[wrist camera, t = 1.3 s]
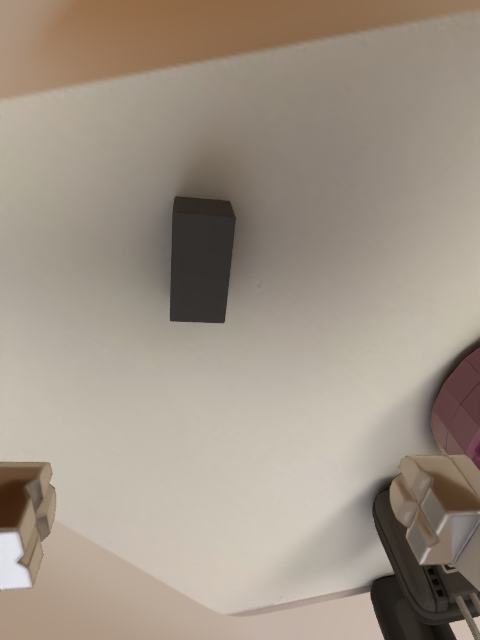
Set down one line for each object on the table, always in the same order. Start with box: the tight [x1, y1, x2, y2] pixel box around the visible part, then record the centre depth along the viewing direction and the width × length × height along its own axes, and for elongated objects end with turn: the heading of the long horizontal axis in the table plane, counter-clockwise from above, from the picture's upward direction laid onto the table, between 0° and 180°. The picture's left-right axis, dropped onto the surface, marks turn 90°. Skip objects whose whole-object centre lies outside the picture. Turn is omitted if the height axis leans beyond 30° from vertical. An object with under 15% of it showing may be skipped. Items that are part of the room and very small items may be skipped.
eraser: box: [170, 197, 236, 323], centre depth 22 cm, size 6×3×3 cm, turn 174°
